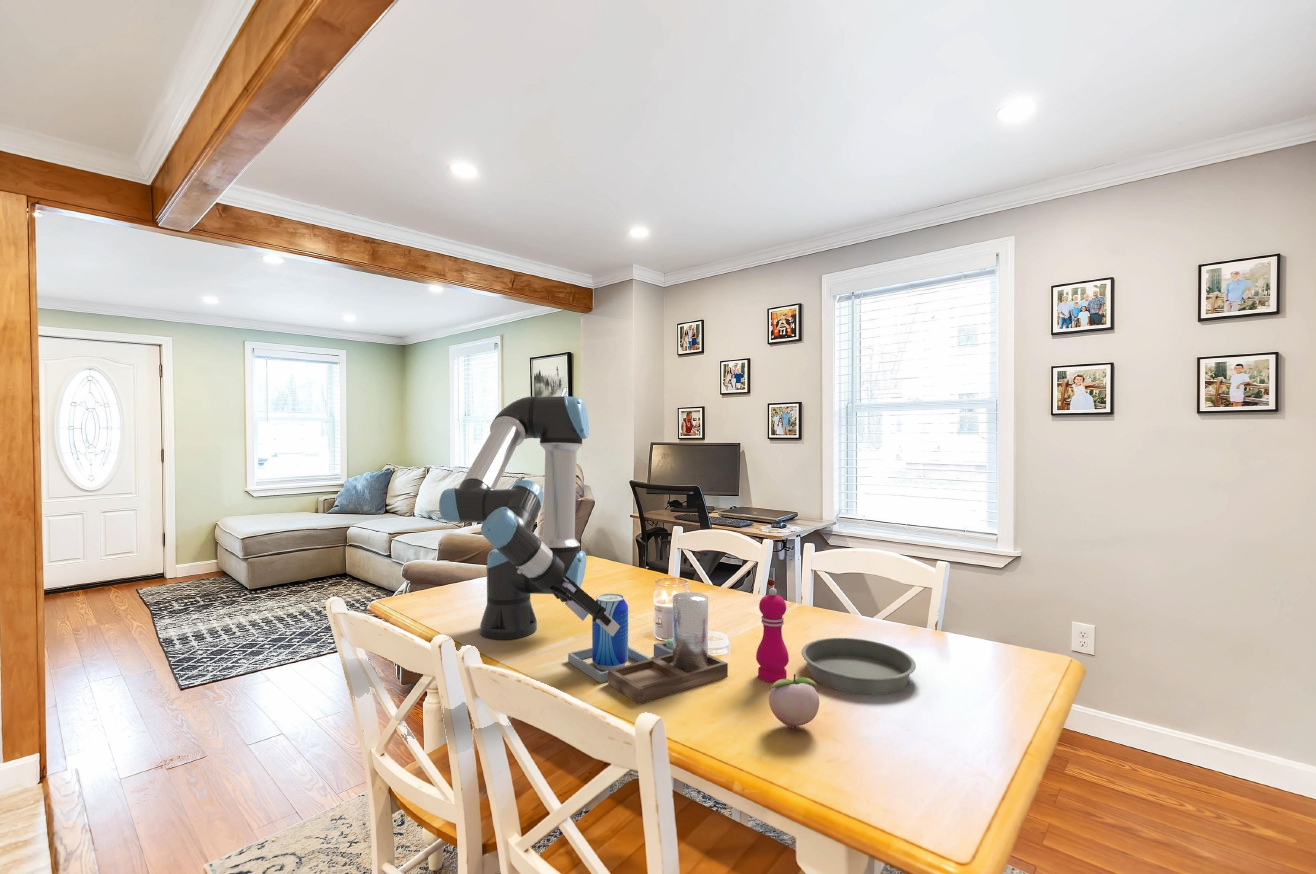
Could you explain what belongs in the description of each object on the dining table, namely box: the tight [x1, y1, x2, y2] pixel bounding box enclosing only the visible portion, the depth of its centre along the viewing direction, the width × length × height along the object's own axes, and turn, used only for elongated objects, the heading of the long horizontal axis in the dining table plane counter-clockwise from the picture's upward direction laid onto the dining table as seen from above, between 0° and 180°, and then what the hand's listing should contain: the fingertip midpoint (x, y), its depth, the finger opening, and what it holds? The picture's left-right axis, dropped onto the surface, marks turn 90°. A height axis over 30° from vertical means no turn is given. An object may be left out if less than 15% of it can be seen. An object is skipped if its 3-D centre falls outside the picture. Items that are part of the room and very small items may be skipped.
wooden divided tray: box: [607, 653, 729, 705], centre depth 133 cm, size 12×24×3 cm, turn 126°
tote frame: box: [567, 646, 652, 684], centre depth 142 cm, size 15×14×2 cm
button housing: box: [653, 640, 673, 658], centre depth 147 cm, size 7×7×3 cm
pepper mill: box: [755, 587, 790, 684], centre depth 135 cm, size 7×7×20 cm
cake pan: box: [801, 637, 917, 695], centre depth 137 cm, size 25×25×4 cm
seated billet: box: [672, 591, 709, 673], centre depth 137 cm, size 8×8×16 cm
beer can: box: [591, 593, 629, 671], centre depth 142 cm, size 8×8×16 cm
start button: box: [665, 637, 673, 650], centre depth 147 cm, size 4×4×4 cm
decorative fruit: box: [768, 673, 820, 729], centre depth 112 cm, size 9×8×10 cm
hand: (600, 623), depth 139 cm, fingers open, 13 cm apart
